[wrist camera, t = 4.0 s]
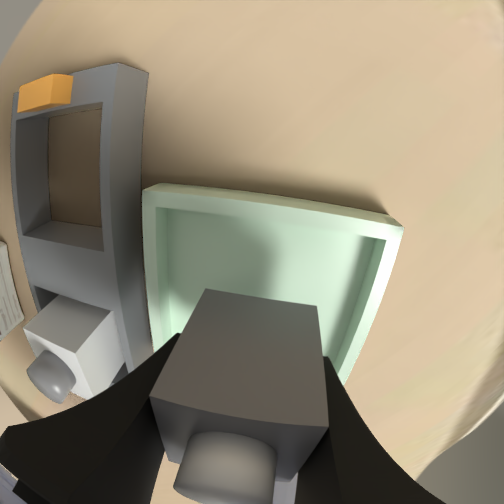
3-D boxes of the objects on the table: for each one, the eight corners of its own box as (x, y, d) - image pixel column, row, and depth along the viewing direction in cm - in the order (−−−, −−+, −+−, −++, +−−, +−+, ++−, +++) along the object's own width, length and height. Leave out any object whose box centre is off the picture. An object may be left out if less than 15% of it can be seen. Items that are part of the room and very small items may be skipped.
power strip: (158, 379, 17) (138, 420, 13) (78, 351, 17) (54, 382, 14) (148, 73, 10) (99, 56, 6) (45, 93, 10) (-4, 94, 7)
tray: (333, 379, 15) (335, 400, 13) (167, 352, 16) (157, 372, 14) (389, 215, 11) (404, 227, 9) (160, 182, 12) (142, 190, 10)
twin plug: (133, 347, 16) (85, 424, 10) (85, 332, 16) (34, 394, 10) (124, 296, 14) (57, 375, 8) (73, 282, 15) (6, 344, 9)
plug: (294, 379, 11) (286, 519, 5) (204, 364, 11) (156, 495, 5) (316, 305, 10) (331, 484, 4) (205, 288, 10) (124, 447, 4)
